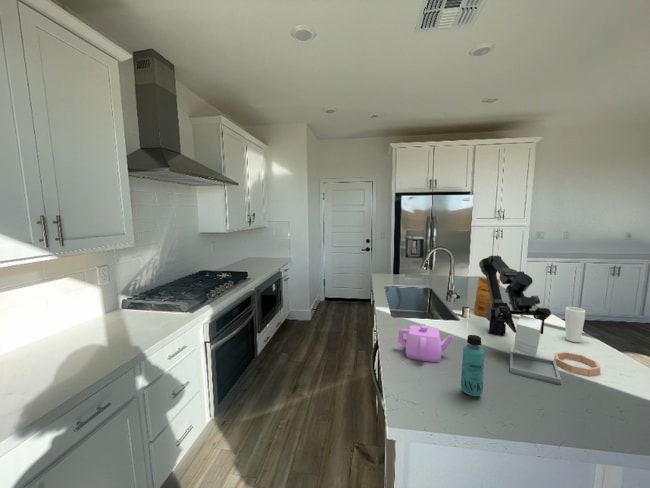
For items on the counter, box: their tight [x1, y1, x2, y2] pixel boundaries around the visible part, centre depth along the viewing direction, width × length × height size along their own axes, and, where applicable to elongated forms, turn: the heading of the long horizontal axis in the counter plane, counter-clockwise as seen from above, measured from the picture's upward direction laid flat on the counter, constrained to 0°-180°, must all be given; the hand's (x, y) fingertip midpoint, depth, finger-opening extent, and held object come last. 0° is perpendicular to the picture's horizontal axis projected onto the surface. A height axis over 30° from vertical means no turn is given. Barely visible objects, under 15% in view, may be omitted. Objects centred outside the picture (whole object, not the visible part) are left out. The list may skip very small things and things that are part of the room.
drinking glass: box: [564, 306, 586, 343], centre depth 130 cm, size 7×7×15 cm
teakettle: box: [397, 323, 454, 363], centre depth 120 cm, size 17×17×12 cm
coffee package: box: [473, 276, 501, 318], centre depth 164 cm, size 10×12×22 cm
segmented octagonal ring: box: [553, 351, 601, 377], centre depth 109 cm, size 13×13×2 cm
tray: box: [509, 351, 562, 386], centre depth 108 cm, size 15×15×2 cm
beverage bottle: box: [460, 334, 486, 397], centre depth 92 cm, size 6×7×20 cm
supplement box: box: [513, 315, 542, 357], centre depth 111 cm, size 7×7×13 cm
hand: (528, 333), depth 111 cm, fingers closed on supplement box, 9 cm apart
